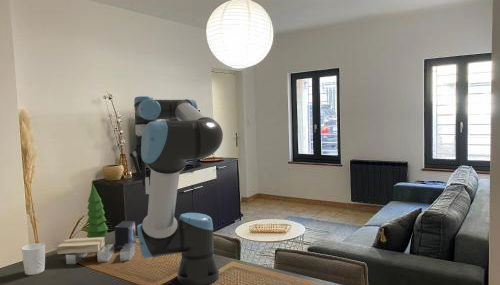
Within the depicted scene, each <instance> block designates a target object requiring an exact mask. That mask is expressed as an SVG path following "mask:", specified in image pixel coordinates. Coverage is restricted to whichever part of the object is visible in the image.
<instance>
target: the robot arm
mask: <svg viewBox="0 0 500 285" xmlns="http://www.w3.org/2000/svg"><path fill="white" fill-rule="evenodd" d="M133 103H134V104H133V107H134V119H135V120H134V121H135V122H134V124H135V125H134V126H135V135H136V136H135V149H134V151H133V152H131V153H130V152H129V156H130V158H131V159H132V162H133V165H134V168H135V171H136V174H137V177H139V178H141V179H142V186H143V187H144V188H145V195H148V204H147V206H148V207H147V208H148V209H147V215H146V216H145V217H144V218H143V221H142V223H140V224H137V226H136V231H137V237H138V242H139V249H140V254H141V257H143V258H144V259H149V258H151V259H152V258H153V259H154V258H157V257H163V256H168V255H169V256H170V255H174V254H181V257H180V258H181V259H180V263H179V265H178V270H177V272H176V273H177V278H176V279H177V281H178V282H179V283H180V284H182V285H209V284H211V283H214V282H215V281H217V280H218V279H219V277H220V270H219V267H218V263H217V261H216V257H215V256H214V255H215V254H214V251H215V250H214V225H213V219H212V217H211V216H209V215H208V214H205V213H199V212H186V213H185V212H184V213H181V214H180V215H179V219H177V218H176V217H175V212H176V204H177V197H178V196H177V194H178V189H179V181H180V173H181V172H182V171H183V170H184V169H185V168H186V165H187V161H193V160H194V161H195V160H203V159H206V158H208V157H211V156H212V155H213V154H215V153H216V152H217V151H218V149H219V148H220V147H221V145H222V142H223V138H224V131H223V130H222V127H221V125H220V123H219V122H217V120H215V119H214V118H212V117H208V116H206V115H204V114H202V113H201V112H200V111H199V110H198V103H197V101H196V100H194V99H188V98H185V99H154V97H152V96H150V95H149V96H145V95H143V96H136V97H135V98H134V99H133ZM156 120H158V121H156ZM137 155H138V157H139V158H140V161H141V162H140V163H141V167H140V165H139V164H140V163H139V161H138V159H137ZM146 165H147V166H146ZM146 167H148V169H146ZM140 168H141V169H140ZM147 170H148V176H147Z"/></svg>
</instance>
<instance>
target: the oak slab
mask: <svg viewBox="0 0 500 285" xmlns="http://www.w3.org/2000/svg"><path fill="white" fill-rule="evenodd" d="M104 245H106V236H104V237H96V238H88V237H80V238H79V237H78V238H76V237H75V238H66V239H64V240H63V241H62V242H61V243H60V244H58V245H57V247H56V249H57V252H56V253H57V254H58V255H63V254H65V255H66V254H68V253H85V252H87V253H98V251H99V250H100V249H101V248H102V247H103V246H104Z"/></svg>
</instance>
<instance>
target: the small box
mask: <svg viewBox="0 0 500 285" xmlns="http://www.w3.org/2000/svg"><path fill="white" fill-rule="evenodd" d="M127 243H135V244H136V243H137V238H136V220H135V221H134V220H129V221H128V220H123V221H121V222H120V223H118V224H117V225H115V226H114V251H115V250H117V251H118V250H120V251H121V249H122V248H123V246H124V245H125V244H127Z"/></svg>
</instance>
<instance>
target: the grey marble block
mask: <svg viewBox="0 0 500 285" xmlns="http://www.w3.org/2000/svg"><path fill="white" fill-rule="evenodd" d="M85 256H86V257H87V256H88V252H85V253H67V254H65V263H66V265H77V262H78V261H79V262H80V261H82V260H83V259H84V258H85ZM81 259H82V260H81ZM79 262H78V263H79Z"/></svg>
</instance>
